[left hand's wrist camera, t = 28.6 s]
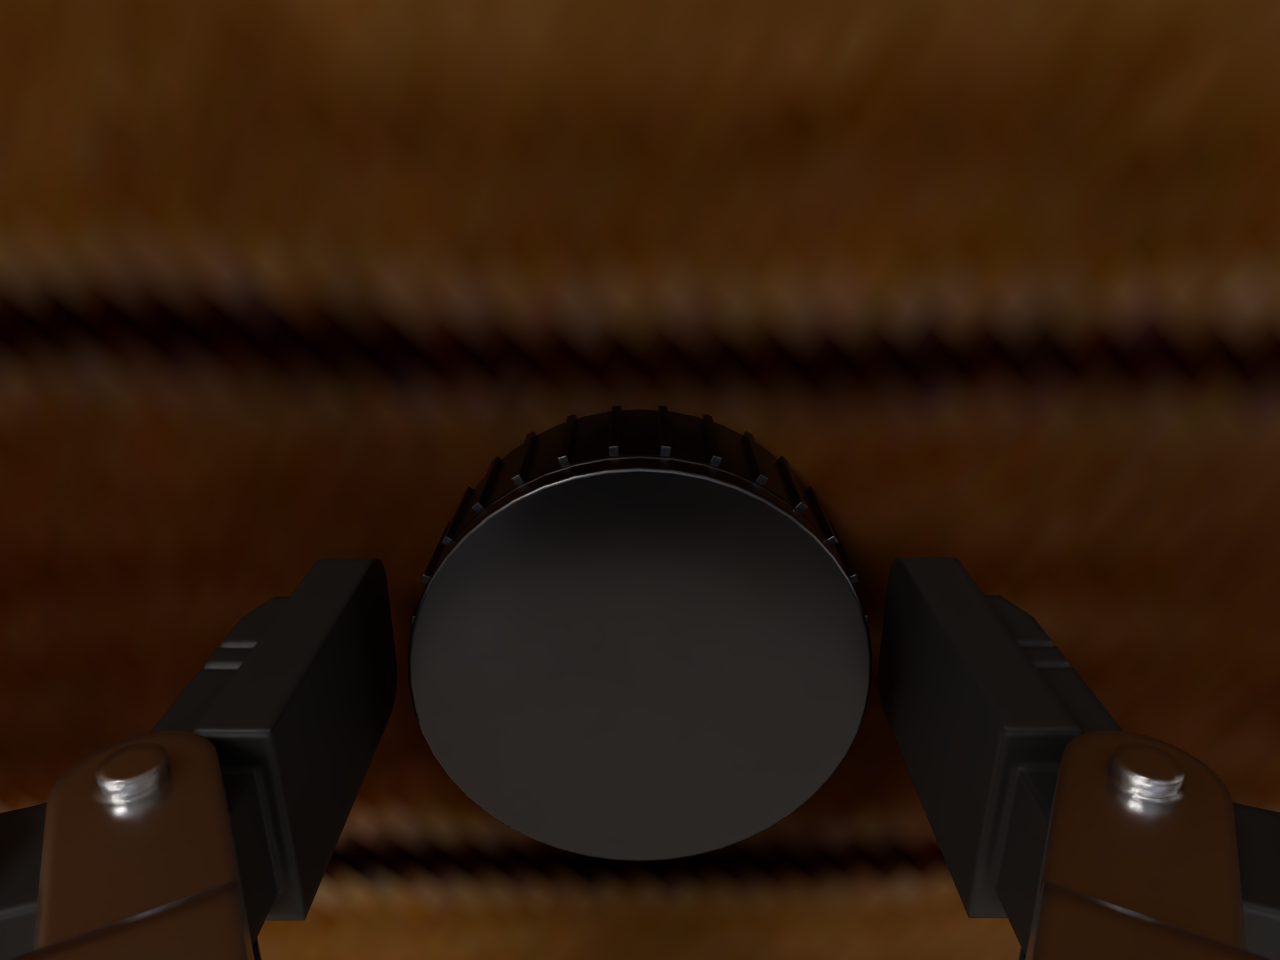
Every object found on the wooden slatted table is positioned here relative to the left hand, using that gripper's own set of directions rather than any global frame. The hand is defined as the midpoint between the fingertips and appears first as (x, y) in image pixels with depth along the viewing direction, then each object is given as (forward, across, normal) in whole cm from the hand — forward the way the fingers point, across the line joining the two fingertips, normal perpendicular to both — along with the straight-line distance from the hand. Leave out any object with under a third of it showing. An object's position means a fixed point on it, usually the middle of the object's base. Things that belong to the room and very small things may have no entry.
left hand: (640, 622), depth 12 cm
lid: (-1, 0, 0) cm, 1 cm away
